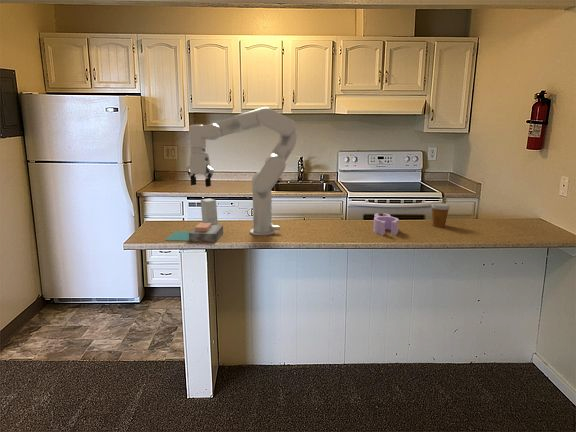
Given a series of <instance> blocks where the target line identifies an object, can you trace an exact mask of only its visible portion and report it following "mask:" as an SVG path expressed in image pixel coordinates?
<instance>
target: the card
mask: <svg viewBox="0 0 576 432" xmlns="http://www.w3.org/2000/svg"><path fill="white" fill-rule="evenodd" d="M211 227H212V223H202V222H199V223H198V224H197V225H196V226H195V227H194V228H195V231H203V232H207V231H208V230H209V229H210V228H211Z"/></svg>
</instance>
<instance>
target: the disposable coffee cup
mask: <svg viewBox="0 0 576 432" xmlns="http://www.w3.org/2000/svg"><path fill="white" fill-rule="evenodd" d="M430 207H431V212H432V213H431V214H432V215H431V216H432V226H433V227H436V228H444V227H446V223H447V218H448V213H449V210H450V204H449V203H448V202H447V203H446V202H433V203H432V204H431V205H430Z"/></svg>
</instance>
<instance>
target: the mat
mask: <svg viewBox="0 0 576 432" xmlns="http://www.w3.org/2000/svg"><path fill="white" fill-rule="evenodd" d="M190 232H191V231H186V230H185V231H182V230H179V231H178V230H177V231H174V232H173V233H171V234H170V235H169V236H168V237H167V238H166V239H165V240H167V241H168V242H169V241H171V242H172V241H173V242H174V241H175V242H190V241H189V233H190Z"/></svg>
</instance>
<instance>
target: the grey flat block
mask: <svg viewBox="0 0 576 432" xmlns="http://www.w3.org/2000/svg"><path fill="white" fill-rule="evenodd" d="M189 232H190V233H189V241H188V242H206V243H207V242H208V243H211V242H213V243H216V242H217V241H218V240H219V239H220V237H221V236H222V235H223V234H224V225H220V224H218V225H212V227H211V228H210V229H209V230H208V231H207V232H203V231H195V227H194V228H193V229H191V231H189Z"/></svg>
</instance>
